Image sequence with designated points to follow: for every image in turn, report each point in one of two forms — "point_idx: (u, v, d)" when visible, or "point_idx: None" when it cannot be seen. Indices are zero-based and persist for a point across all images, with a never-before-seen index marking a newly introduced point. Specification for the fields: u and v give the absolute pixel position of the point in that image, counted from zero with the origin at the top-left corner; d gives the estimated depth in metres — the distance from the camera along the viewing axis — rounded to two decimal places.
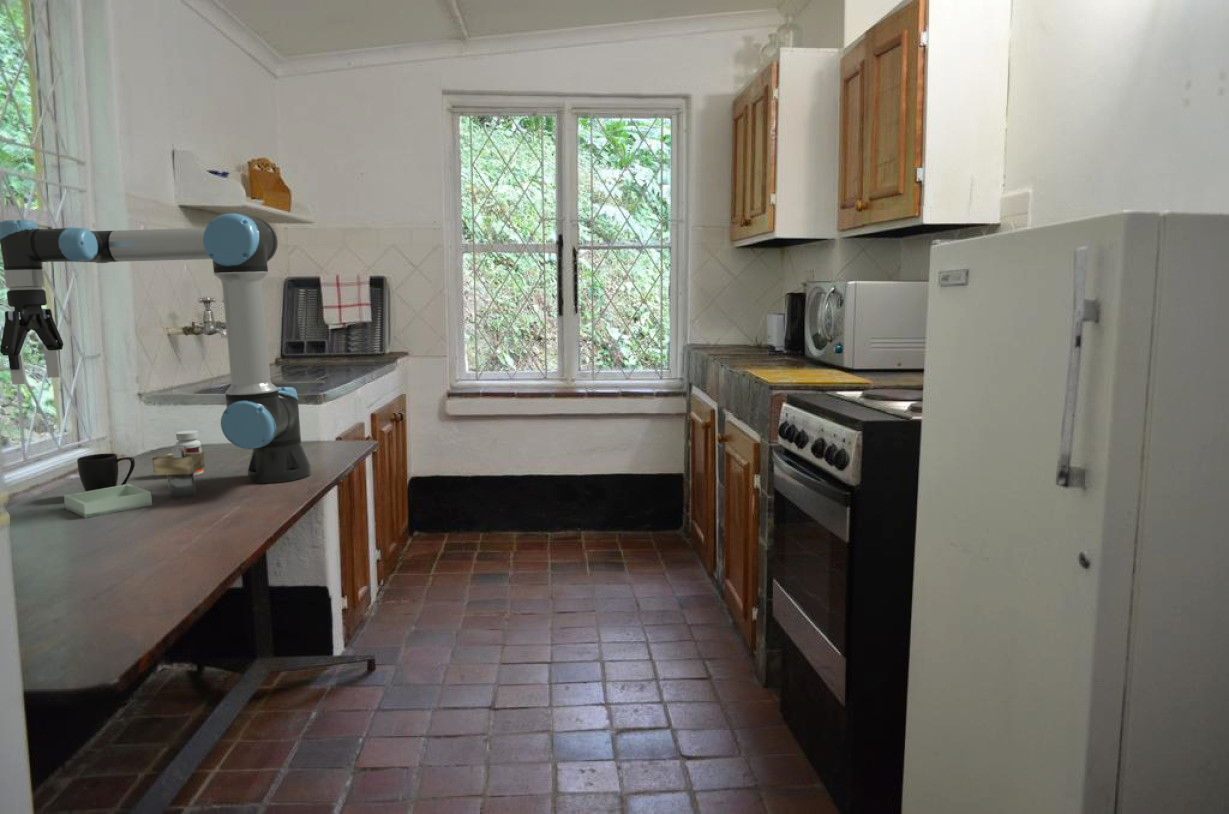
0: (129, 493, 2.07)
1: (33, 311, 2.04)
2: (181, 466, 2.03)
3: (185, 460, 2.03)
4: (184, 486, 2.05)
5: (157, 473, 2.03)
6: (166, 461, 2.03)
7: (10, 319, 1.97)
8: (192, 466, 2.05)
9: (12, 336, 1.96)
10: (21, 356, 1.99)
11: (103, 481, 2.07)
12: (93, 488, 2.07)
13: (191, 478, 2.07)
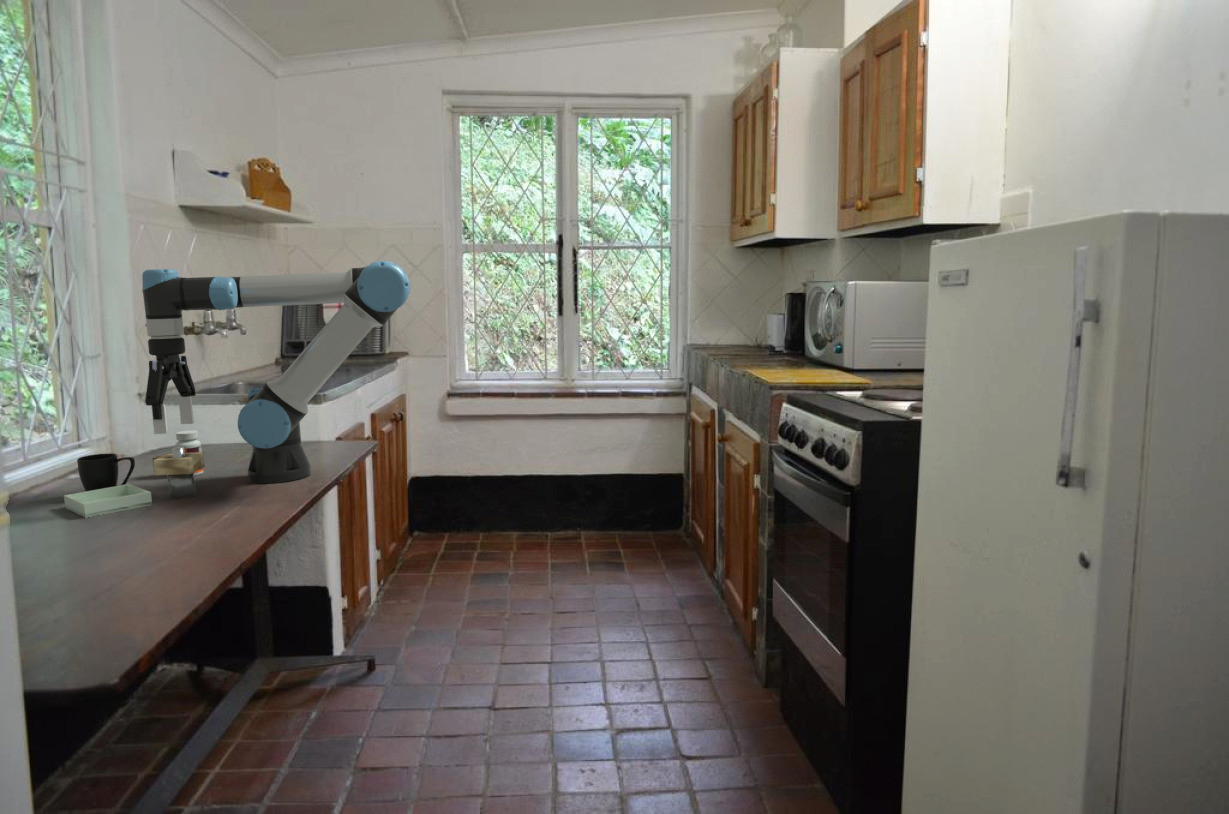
0: (129, 493, 2.07)
1: (172, 359, 2.03)
2: (181, 466, 2.03)
3: (185, 460, 2.03)
4: (184, 486, 2.05)
5: (157, 473, 2.03)
6: (166, 461, 2.03)
7: (154, 369, 1.97)
8: (192, 466, 2.05)
9: (157, 386, 1.96)
10: (164, 406, 1.98)
11: (103, 481, 2.07)
12: (93, 488, 2.07)
13: (191, 478, 2.07)
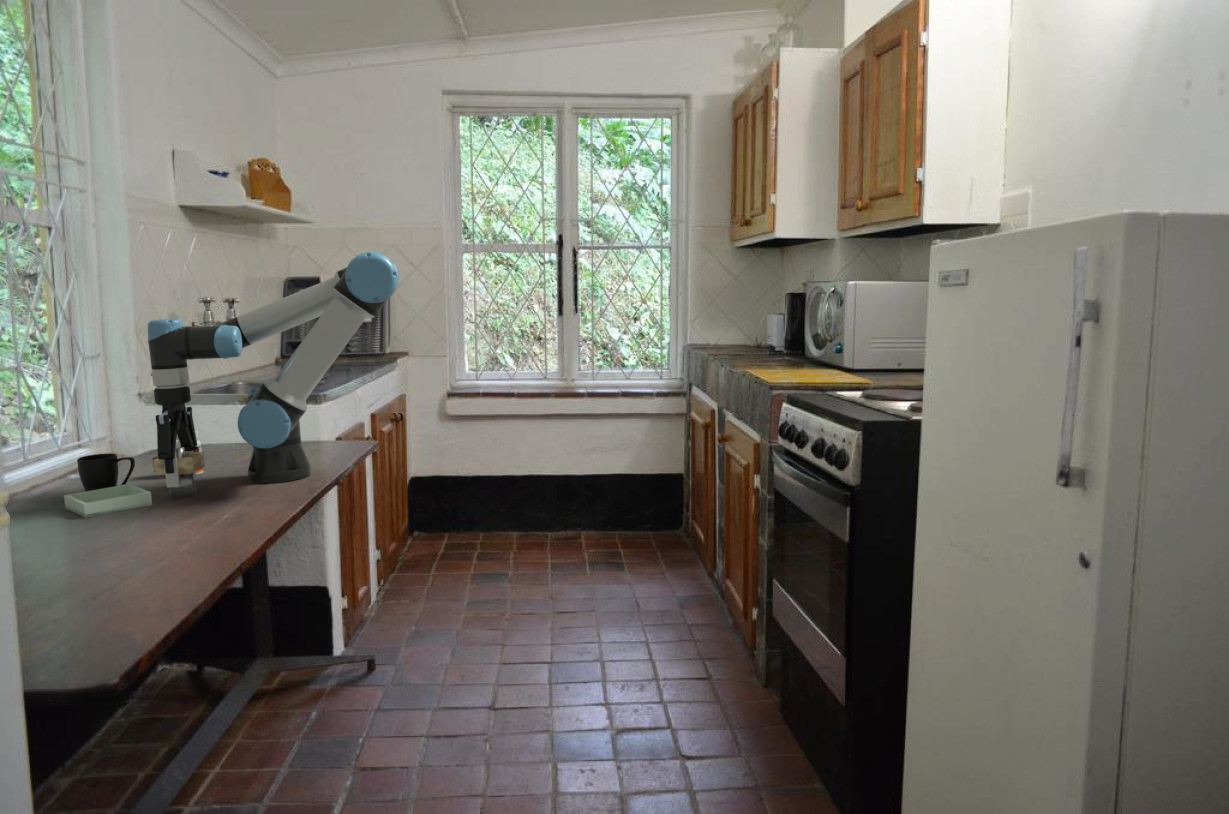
0: (129, 493, 2.07)
1: (178, 408, 2.05)
2: (181, 466, 2.03)
3: (185, 460, 2.03)
4: (184, 486, 2.05)
5: (157, 473, 2.03)
6: None
7: (161, 423, 1.99)
8: (192, 466, 2.05)
9: (167, 441, 1.99)
10: (176, 460, 2.02)
11: (103, 481, 2.07)
12: (93, 488, 2.07)
13: (191, 478, 2.07)
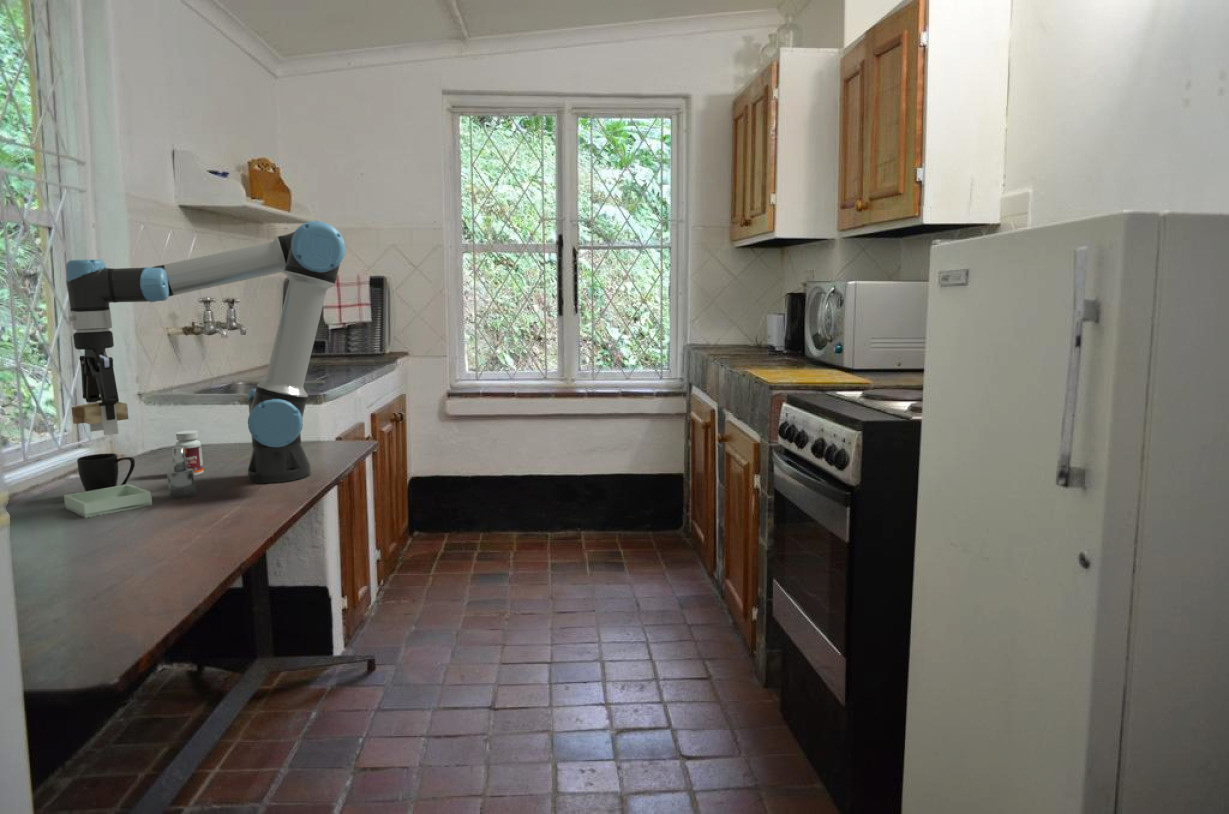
0: (129, 493, 2.07)
1: None
2: (118, 412, 1.96)
3: (123, 405, 1.97)
4: (184, 486, 2.05)
5: (91, 422, 1.92)
6: None
7: (106, 366, 1.91)
8: None
9: (115, 385, 1.92)
10: (114, 405, 1.95)
11: (103, 481, 2.07)
12: (93, 488, 2.07)
13: (191, 478, 2.07)
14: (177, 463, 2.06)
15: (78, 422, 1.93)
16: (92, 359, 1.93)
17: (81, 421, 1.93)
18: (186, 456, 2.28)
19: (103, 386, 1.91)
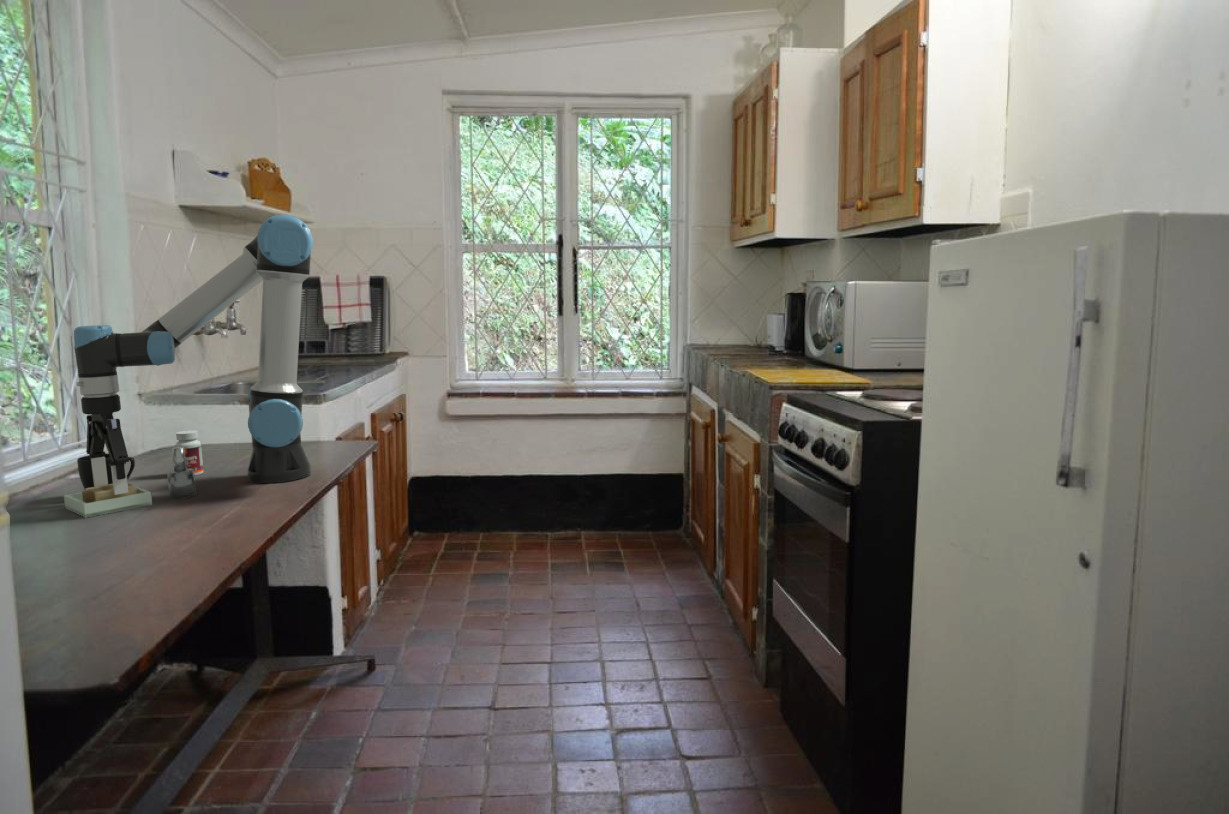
0: None
1: None
2: None
3: (132, 488, 1.99)
4: (184, 486, 2.05)
5: None
6: (112, 492, 1.96)
7: (114, 428, 1.93)
8: None
9: (124, 445, 1.93)
10: (124, 464, 1.95)
11: None
12: None
13: (191, 478, 2.07)
14: (177, 463, 2.06)
15: None
16: (99, 423, 1.95)
17: None
18: (186, 456, 2.28)
19: (112, 447, 1.92)
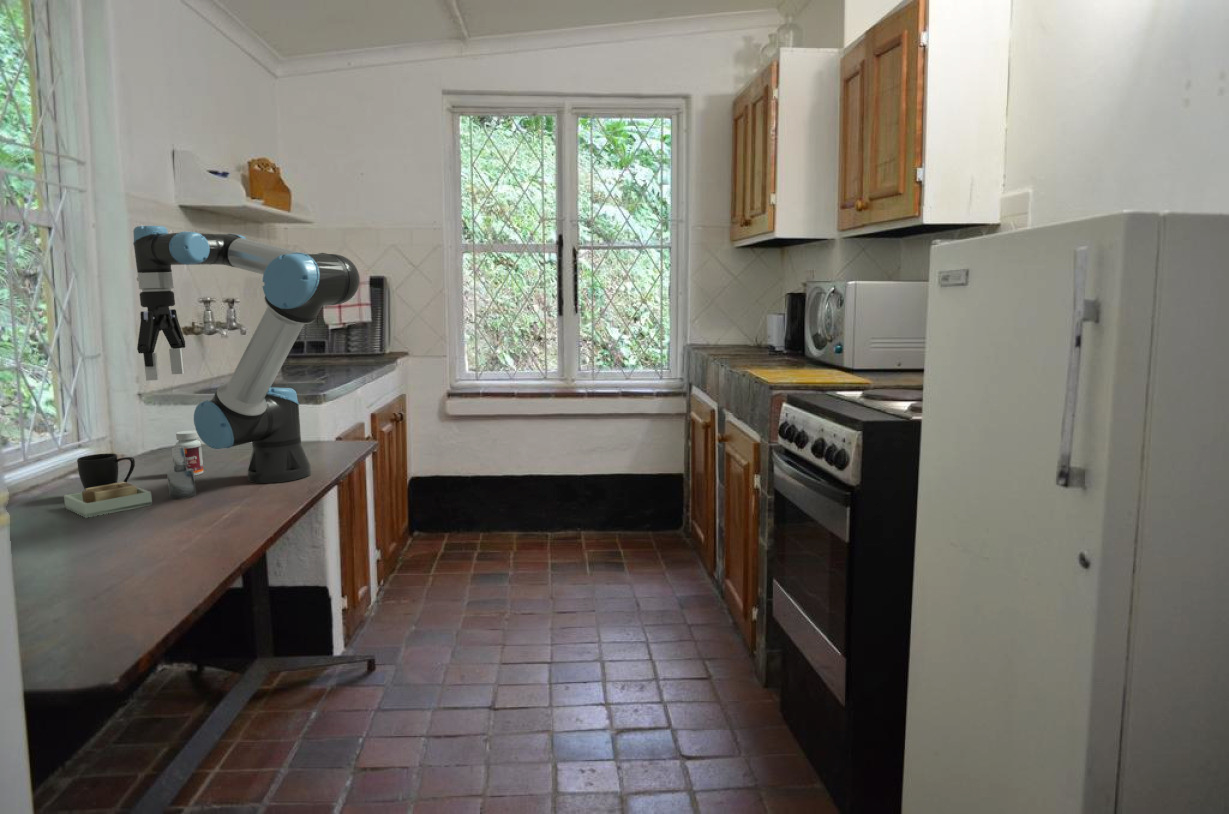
0: None
1: (163, 311, 2.16)
2: None
3: (132, 488, 1.99)
4: (184, 486, 2.05)
5: None
6: (112, 492, 1.96)
7: (145, 319, 2.10)
8: None
9: (148, 335, 2.09)
10: (155, 354, 2.11)
11: (103, 481, 2.07)
12: None
13: (191, 478, 2.07)
14: (177, 463, 2.06)
15: None
16: None
17: None
18: (186, 456, 2.28)
19: None
